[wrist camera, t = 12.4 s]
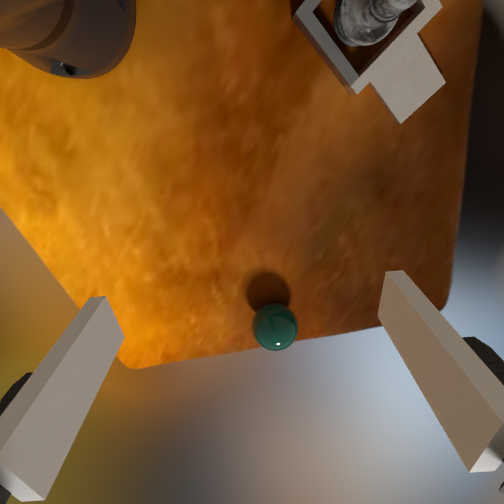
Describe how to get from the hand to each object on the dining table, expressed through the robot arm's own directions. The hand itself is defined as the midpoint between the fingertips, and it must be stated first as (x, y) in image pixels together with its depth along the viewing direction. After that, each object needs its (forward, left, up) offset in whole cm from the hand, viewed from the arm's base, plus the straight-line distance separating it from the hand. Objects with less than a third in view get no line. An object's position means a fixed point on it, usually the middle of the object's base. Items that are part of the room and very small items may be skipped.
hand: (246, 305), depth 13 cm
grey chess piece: (-2, +20, -28) cm, 35 cm away
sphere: (+21, -16, -28) cm, 39 cm away
